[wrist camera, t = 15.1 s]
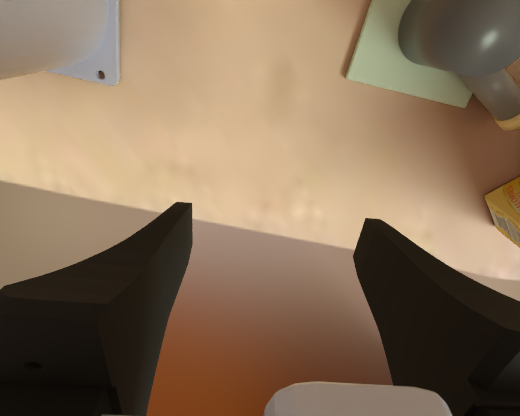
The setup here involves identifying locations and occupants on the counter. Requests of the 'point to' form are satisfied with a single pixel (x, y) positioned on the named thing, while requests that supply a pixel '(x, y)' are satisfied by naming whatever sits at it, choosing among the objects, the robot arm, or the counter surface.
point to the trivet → (399, 60)
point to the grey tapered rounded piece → (469, 47)
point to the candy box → (506, 209)
